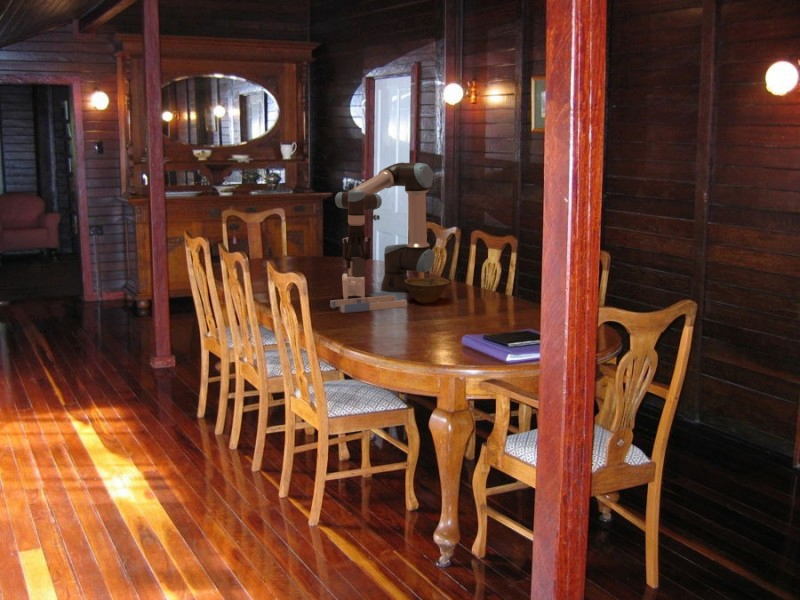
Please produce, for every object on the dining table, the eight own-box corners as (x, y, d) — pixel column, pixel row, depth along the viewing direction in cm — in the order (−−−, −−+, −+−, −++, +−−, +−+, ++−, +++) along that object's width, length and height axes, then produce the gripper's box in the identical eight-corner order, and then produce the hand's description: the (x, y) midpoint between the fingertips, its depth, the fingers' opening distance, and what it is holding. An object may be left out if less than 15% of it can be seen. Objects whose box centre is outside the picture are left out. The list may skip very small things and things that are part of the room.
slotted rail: (392, 301, 442) (392, 293, 441) (407, 307, 428) (407, 299, 427) (330, 306, 428) (330, 298, 428) (343, 313, 414) (343, 304, 414)
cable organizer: (364, 301, 443) (364, 277, 441) (342, 301, 442) (342, 277, 440) (363, 295, 457) (363, 272, 455) (342, 295, 457) (342, 272, 454)
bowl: (456, 299, 448) (457, 278, 446) (438, 307, 428) (439, 286, 426) (415, 295, 457) (415, 275, 455) (396, 303, 437) (396, 282, 435)
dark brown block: (357, 274, 428) (357, 257, 426) (365, 276, 420) (365, 259, 418) (347, 274, 425) (347, 257, 424) (355, 277, 417) (355, 260, 416)
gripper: (371, 223, 426) (370, 272, 430) (334, 224, 418) (334, 275, 422) (378, 224, 419) (377, 275, 423) (341, 225, 411) (341, 277, 415)
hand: (356, 275), depth 423 cm, fingers closed on dark brown block, 5 cm apart
